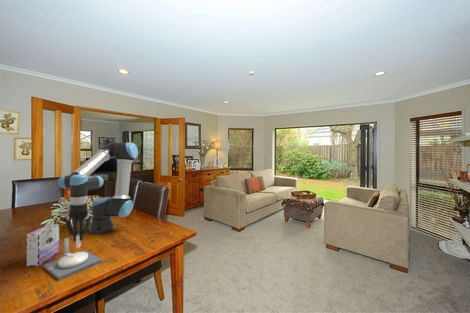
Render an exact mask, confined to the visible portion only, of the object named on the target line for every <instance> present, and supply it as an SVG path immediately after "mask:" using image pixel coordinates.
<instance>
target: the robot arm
mask: <svg viewBox="0 0 470 313" xmlns="http://www.w3.org/2000/svg"><path fill="white" fill-rule="evenodd" d="M138 156H139V151H138V147H137V145H136V144H135V143H133V142H115V141H114V142H110V143H107V144H105V145H103V146H102V147H100V148H99V149H97V150H96V152H95V154H93V155H92V156H91V157H90V158H89V159H87V160H86V161H85V162H84V163H82V164H81V165H80V166H79V167H78V168H76V169H75V170H74V171H73V172H71V173H70V174H69V175H68V174H67V175H62V176H60V177H59V178H58V180H57V184H58V187H59V188H62V189H67V190H69V212H68V216H65V217H64V218H63V219H62V221H63V222H64V223H65V225H66V228H67V231H68V235H69V236H73V242H75V248H76V249H78V248H80V247H81V245H82V241H83V240H84V234H86V233H87V232H88V233H90V234H92V235H97V234H105V233H108V232H111V231H112V230H114V228H115V227H114V222H113V220H112V217H119V218H122V217H128V216H129V215H130V214H131V212H132V211H133V207H134V203H133V200H131V196H129V191H130V181H131V173H132V172H131V169H132V164H133V163H134V162H135V159H137V157H138ZM115 158H116V162H118V164H117V171H116V180H115V182H116V183H115V192H114V195H113V196H112V197H111V196H107V197H106V196H105V197H100V198H96V199H95V198H94V200H92V202H91V214H90V213H89V212H88V191H92V190H97V189H99V188H102V187H103V185H104V179H103V177H102V176H100V175H93V176H90V175H91V174H92V173H94V172H95V171H96V170H97V169H98V168H100V167H101V165H102V164H104V163H105V162H107V161H109V160H110V159H115ZM86 218H87V220H86V223H85V226H84V222H85V221H84V220H85V219H86ZM71 220H72V221H73V222H72V223H73V225H72V223H71ZM78 223H79V225H78ZM78 226H79V227H78ZM78 228H79V229H78ZM78 230H79V232H78Z"/></svg>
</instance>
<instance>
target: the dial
mask: <svg viewBox="0 0 470 313" xmlns="http://www.w3.org/2000/svg"><path fill="white" fill-rule="evenodd" d="M63 240H64V242H63V247H64V248H63V249H64V250H63V255H64V256H62V257H60V258H59V259H57V260H58V267H59V268H72V267H76V266H79V265H81V264H83V263H85V262H86V261H87V260H88V253H86V252H81V251H77V252H73V253H72V252H71V251H70V237H65V238H64V239H63Z"/></svg>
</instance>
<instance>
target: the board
mask: <svg viewBox="0 0 470 313" xmlns="http://www.w3.org/2000/svg"><path fill="white" fill-rule="evenodd" d="M80 252H86V253H88V260H87V261H86V262H85V263H83V264H81V265H79V266H76V267H72V268H59V267H58V260H59V259H56V260H52V261H51V262H50V261H49V262H48V263H47V262H46V263H45V264H43V268H44V269H45V271H46V272H48V273H49V274H51V275H52V276H53V277H54V278H55V279H56V280H58V281H61V280H63V279H66V278H68V277H70V276H73V275H75V274H78V273H80V272H83V271H84V270H86V269H87V270H88V269H89V268H91V267H94V266H96V265H98V264H101V263H102V261H103V259H102V258H100V257H99V256H96V255H95V254H93V253H91V252H89V251H88V250H85V249H84V250H82V251H80Z"/></svg>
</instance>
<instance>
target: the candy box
mask: <svg viewBox="0 0 470 313" xmlns="http://www.w3.org/2000/svg"><path fill="white" fill-rule="evenodd" d="M25 248H26V251H25V252H26V256H25V257H26V259H25V260H26V267H39V266H41V265H42V264H43V263H46V262H47V261H48V260H50V259H51V258H53V257H55V256H56V255H57V254H59V253H60V224H59V223H58V224H57V223H56V224H55V223H54V224H52V223H51V224H46V225H44V226H42V227H41V228H38V229H36V230H34V231H32V232H29V233H26V247H25Z"/></svg>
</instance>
